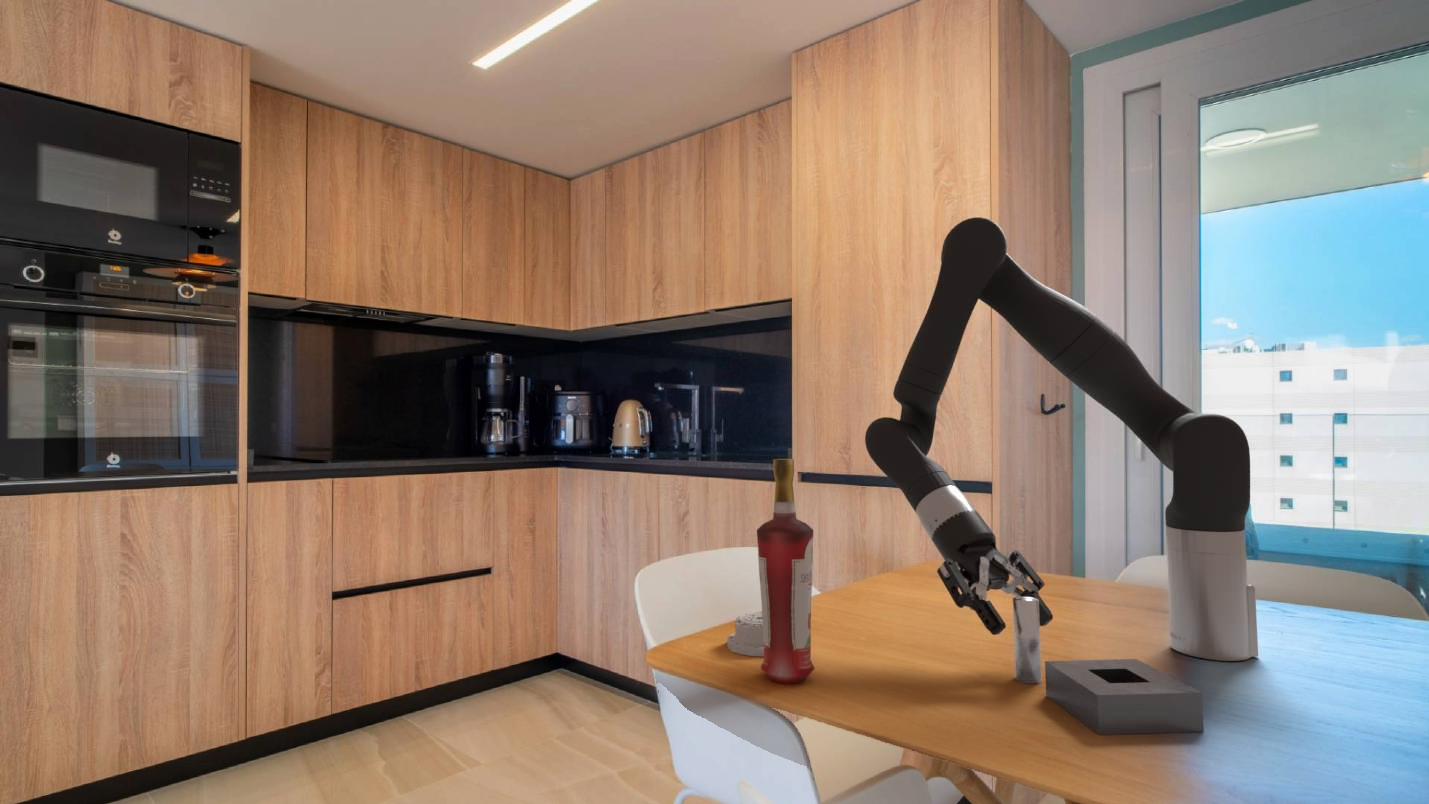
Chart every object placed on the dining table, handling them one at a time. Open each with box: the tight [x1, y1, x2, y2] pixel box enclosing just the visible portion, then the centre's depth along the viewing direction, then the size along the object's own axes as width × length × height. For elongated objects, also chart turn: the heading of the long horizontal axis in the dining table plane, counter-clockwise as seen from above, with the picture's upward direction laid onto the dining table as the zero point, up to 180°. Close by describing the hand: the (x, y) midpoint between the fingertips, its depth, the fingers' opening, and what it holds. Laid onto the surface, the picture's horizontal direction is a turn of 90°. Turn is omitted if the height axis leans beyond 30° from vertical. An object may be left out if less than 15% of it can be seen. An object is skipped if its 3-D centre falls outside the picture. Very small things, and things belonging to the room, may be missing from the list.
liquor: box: [756, 458, 815, 685], centre depth 93 cm, size 7×7×28 cm
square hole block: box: [1044, 658, 1205, 736], centre depth 79 cm, size 11×11×4 cm
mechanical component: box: [726, 612, 764, 657], centre depth 106 cm, size 10×4×10 cm
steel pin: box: [1012, 596, 1042, 685], centre depth 90 cm, size 3×3×10 cm
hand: (1024, 626), depth 91 cm, fingers open, 8 cm apart
